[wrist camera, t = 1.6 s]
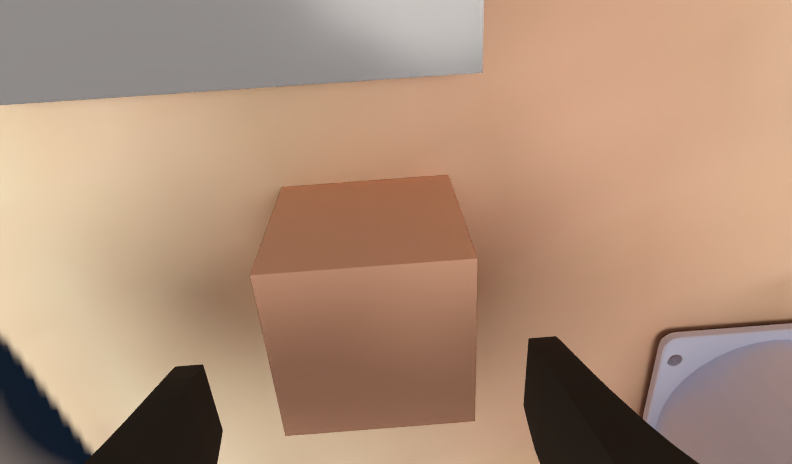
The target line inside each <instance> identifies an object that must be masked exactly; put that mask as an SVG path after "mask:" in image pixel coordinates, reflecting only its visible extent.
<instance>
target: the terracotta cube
mask: <svg viewBox="0 0 792 464" xmlns="http://www.w3.org/2000/svg"><path fill="white" fill-rule="evenodd" d="M250 278H251V283H252V287H253V292H254V296H255V301H256V305H257V310H258V314H259V319H260V323H261V328H262V332H263V337H264V341H265V346H266V350H267V355H268V359H269V364H270V368H271V373H272V377H273V382H274V386H275V391H276V395H277V400H278V404H279V409H280V413H281V418H282V422H283V427H284V431H285V436H291V435H303V434H316V433H329V432H342V431H354V430H367V429H380V428H393V427H406V426H418V425H431V424H444V423H457V422H469V421H475V388H476V321H477V256H476V253H475V250H474V247H473V245H472V242H471V239H470V236H469V233H468V230H467V227H466V225H465V222H464V219H463V216H462V213H461V210H460V208H459V205H458V202H457V199H456V196H455V193H454V191H453V188H452V185H451V182H450V179H449V176H448V175H439V176H426V177H412V178H398V179H385V180H371V181H357V182H344V183H330V184H316V185H302V186H289V187H282V188H281V191H280V194H279V196H278V199H277V202H276V205H275V207H274V210H273V213H272V216H271V218H270V221H269V224H268V227H267V230H266V232H265V235H264V238H263V241H262V243H261V246H260V249H259V252H258V254H257V257H256V260H255V263H254V265H253V268H252V271H251V274H250Z"/></svg>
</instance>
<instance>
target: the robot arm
mask: <svg viewBox="0 0 792 464" xmlns="http://www.w3.org/2000/svg"><path fill="white" fill-rule="evenodd" d="M673 355H675V356H673ZM671 356H673V357H672V358H670V357H671ZM524 410H525V414H526V417H527V421H528V425H529V429H530V433H531V437H532V441H533V444H534V448H535V451H536V454H537V456H538V459H539V462H540V464H792V323H788V324H775V325H762V326H749V327H736V328H723V329H710V330H697V331H684V332H674V333H669V334H668V335H666V336H664V337H663V338H662V339H661V341H660V343H659V346H658V350H657V355H656V359H655V364H654V368H653V373H652V377H651V382H650V386H649V391H648V395H647V400H646V404H645V409H644V413H643V418H641V417H640V416H639V415H638V414H637V413H635V412H634V411H633V410H632V409H631V408H630V407H629V406H628V405H626V404H625V403H624V402H623V401H622V400H621V399H620V398H619V397H618V396H617V395H616V394H615V393H613V392H612V391H611V390H610V389H609V388H608V387H607V386H606V385H605V384H604V383H603V382H602V381H601V380H600V379H599V378H598V377H597V376H596V375H595V374H594V373H593V372H592V371H590V370H589V369H588V368H587V367H586V366H585V365H584V364H583V363H582V362H581V361H580V360H579V359H578V358H577V357H576V356H575V355H574V353H573V352H572V351H571V350H570V349H569V348H568V347H567V346H566V345H565V344H564V343H563V342H562V341H561V340H560V339H558V338H557V337H556V336H554V337H542V338H529V341H528V354H527V367H526V380H525V393H524ZM222 432H223V430H222V426H221V423H220V420H219V416H218V413H217V410H216V406H215V403H214V400H213V396H212V393H211V390H210V386H209V383H208V380H207V376H206V373H205V369H204V366H203V365H191V366H178V367H175V368H174V369H173V370H172V371H171V372H170V373H169V374H168V375H167V376H166V377H165V378H164V379H163V380H162V381H161V383H160V384H159V385H158V386H157V387H156V388H155V389H154V390H153V391H152V392H151V393H150V395H149V396H148V397H147V398H146V399H145V400H144V401H143V402H142V403H141V404H140V405H139V407H138V408H137V409H136V410H135V411H134V412H133V413H132V414H131V415H130V416H129V417H128V419H127V420H126V421H125V422H124V423H123V424H122V425H121V426H120V427H119V428H118V429H117V430H116V431H115V432H114V433H113V434H112V435H111V437H110V438H109V439H108V440H107V441H106V442H105V443H104V444H103V445H102V446H101V447H100V448H99V449H98V450H97V451H96V452H95V453H94V454H93V455H92V456H91V457H90V458H89V459H88V460H87V461H86V462H85V463H84V464H217V461H218V456H219V450H220V444H221V438H222Z"/></svg>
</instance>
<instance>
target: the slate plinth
mask: <svg viewBox="0 0 792 464" xmlns="http://www.w3.org/2000/svg"><path fill="white" fill-rule="evenodd" d="M483 24H484V0H0V105H10V104H25V103H40V102H55V101H70V100H85V99H100V98H115V97H130V96H145V95H160V94H175V93H189V92H204V91H219V90H234V89H249V88H264V87H279V86H294V85H309V84H324V83H339V82H354V81H369V80H384V79H399V78H413V77H428V76H443V75H458V74H473V73H483Z"/></svg>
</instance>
